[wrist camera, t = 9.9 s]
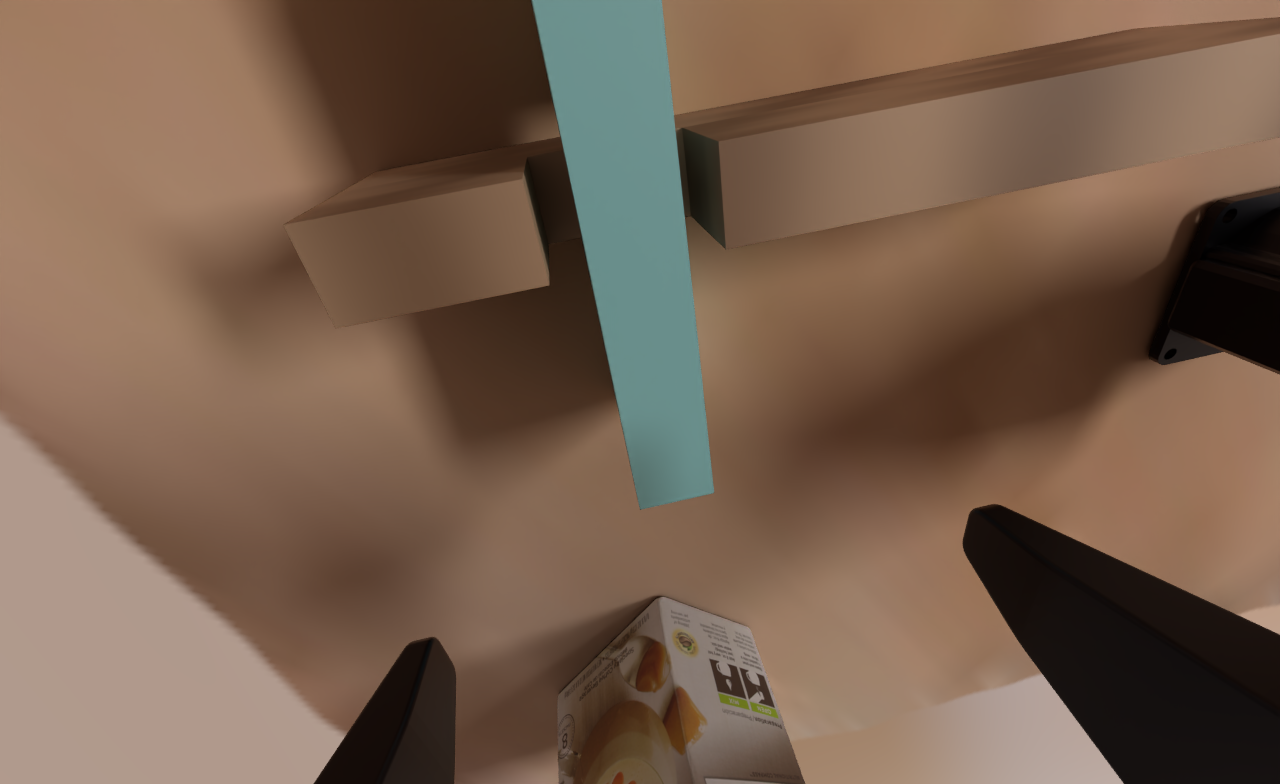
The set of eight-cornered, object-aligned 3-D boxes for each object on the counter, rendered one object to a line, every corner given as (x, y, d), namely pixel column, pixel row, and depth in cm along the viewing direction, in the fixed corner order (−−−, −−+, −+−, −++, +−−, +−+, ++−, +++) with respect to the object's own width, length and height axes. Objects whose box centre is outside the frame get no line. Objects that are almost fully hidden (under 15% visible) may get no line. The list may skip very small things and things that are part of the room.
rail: (1134, 28, 15) (1426, 5, 10) (1112, 105, 16) (1366, 119, 11) (376, 171, 14) (283, 225, 9) (404, 244, 15) (335, 328, 10)
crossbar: (486, -207, 11) (437, -448, 6) (580, -221, 11) (612, -470, 6) (614, 393, 19) (640, 509, 14) (668, 381, 19) (714, 493, 14)
